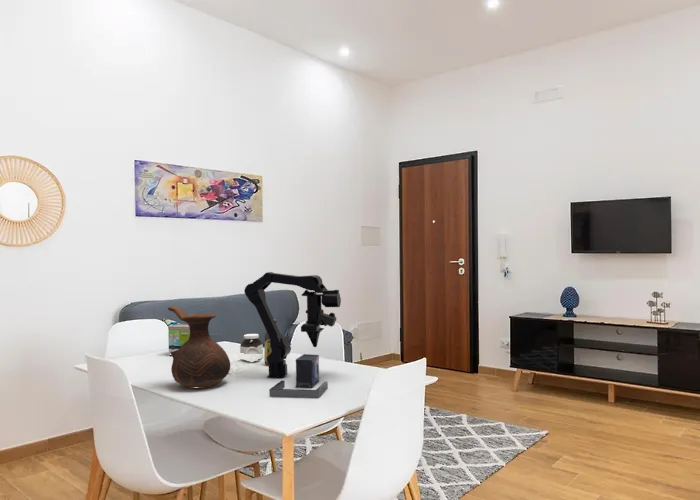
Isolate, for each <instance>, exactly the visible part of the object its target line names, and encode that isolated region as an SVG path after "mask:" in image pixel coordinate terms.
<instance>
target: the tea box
mask: <svg viewBox="0 0 700 500" xmlns="http://www.w3.org/2000/svg"><path fill="white" fill-rule="evenodd" d="M167 332H168V333H167V335H168V337H167V338H168V355H169V354H171V353H170V352H171V351H172V352H173V351H176V350H178V349H180V347H181V346H182V345H183V344H184V343H185V342H187V341H188V339H189V336H190V328H189V325H188V324H187V323H176V324H174V325H171V326H168V331H167ZM171 355H172V354H171Z"/></svg>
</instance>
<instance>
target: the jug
mask: <svg viewBox="0 0 700 500" xmlns="http://www.w3.org/2000/svg"><path fill="white" fill-rule="evenodd" d="M167 310H168V311H169V312H173V313H174V314H175V315H176V317H178V319H179V320H180V321H182V322H184V323H185V324H188V325H189V328H190V336H189V339H188V341H187V342H185V343H184V344H183V345H182V346H181V347H180V349H178V350H176V351H173V352H172V351H171V352H170V353H171V354H172V356H171V357H172V363H171V368H170V369H171V376H172V377H173V380H174V382H175V383H178V384H180V385H183V386H185V387H186V386H187V387H186V388H188V387H207V388H210V387H209V386H212V387H214V386H216V385H218V384H219V383H220V382H221V381H222V380H224V379H225V378H226V377H227V376H228V375H229V373H230V370H231V361H230V358H229V356H228V354H227V352H226V351H225V349H224V348H223V347H222V346H221V345H220V344H218V342H216V341H215V340H213V339H212V338H211V336H210V331H209V325H210V321H211V320H212V319H214V318H216V314H214V313H194V314H188V313H187V312H186V311H185V310H184V309H182V308H180V307H178V306H175V305H174V306H168V307H167ZM213 385H214V386H213Z"/></svg>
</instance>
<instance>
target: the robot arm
mask: <svg viewBox="0 0 700 500" xmlns="http://www.w3.org/2000/svg"><path fill="white" fill-rule="evenodd" d="M272 283H274V284H280V285H282V284H283V285H289V286H297V287H299V288H302V289H304V291H303V293H301V296H302V297H306V310H305V314H306V316H307V317H306V318H307V319H306V321H305V322H304V323H303V324H301V326H300V332H301V333H305V332H306V334H307V336H308V338H309V341H310V342H311V345H312V347H313V348H317V347H318V343H319V338H320V334H321V332H322V331H323V330H325V328H324V327H327V326H328V327H333V326H334V327H335V323H336V321H337V317H336V314H335V313H334V312H330V313H329V314H328V313H324V309H323V308H322V306H323V307H325V308H340V307H341V302H342V298H341V295H340V294H341V293H340V290H339V289H334V290H333V289H331V290H330V289H327V287H326V286H325V285H324V283H323V279H322V278H321V276H319V275H318V274H316V275H314V274H313V275H294V274H286V273H285V274H283V273H276V272H273V271H270V272H269V271H267V272H265V273H264V274H263V275H262V276H261V277H259V278H258V279H256V280H255V281H253V282H252V283H249V284H247V285H246V286H245V287H244V294H245V296H246V298H247V299H248V301H249V302H250V303H251V304H252V305H253V306H254V307H255V309H256V311H257V313H258V315H259V318H260V320H261V322H262V325H263V326H264V329H265V331H266V332H267V333H268V335H269V338H270V347H271V351H272V352H271V353H270V354H269V355H268V356H267V358H266V359H267V361H268V363H269V365H268V375H267V378H270V379H271V378H273V379H275V378H276V379H283V378H285V377H286V376H287V375H288V364H287V363H286V362H287V357H288V355H289V354H290V353H291V350H292V347H291V346H292V343H291V342H290V340H289V337H288V335H285V336H284V335H283V334H281V332H280V330H279V328H278V325H277V322H276V323H275V321H274V317H273V314H272V312H271V310H270V308H269V306H268V304H267V301H266V300H267V299H266V298H267V297H266V292H265V290H266V289H267V288H268V287H269V286H270V285H271V284H272ZM321 326H324V327H321Z"/></svg>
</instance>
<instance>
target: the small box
mask: <svg viewBox="0 0 700 500" xmlns="http://www.w3.org/2000/svg"><path fill="white" fill-rule="evenodd" d="M319 364H320V355H319V354H305V353H304V354H301V356H299V357H297V358H296V359H295V388H299V389H300V388H301V389H304V388H305V389H312V388H314V387H315V386H316V385H317V384H318V383H319V382H320V365H319Z"/></svg>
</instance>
